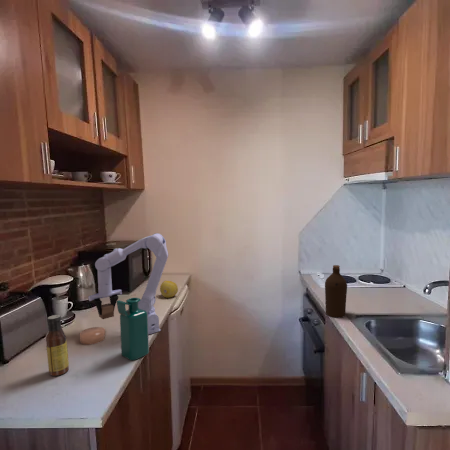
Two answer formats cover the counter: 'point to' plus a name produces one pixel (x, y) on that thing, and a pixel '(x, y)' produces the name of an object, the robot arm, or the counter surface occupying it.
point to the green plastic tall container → (133, 329)
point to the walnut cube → (107, 311)
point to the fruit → (168, 289)
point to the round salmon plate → (92, 335)
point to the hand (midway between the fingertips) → (106, 312)
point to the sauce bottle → (56, 347)
